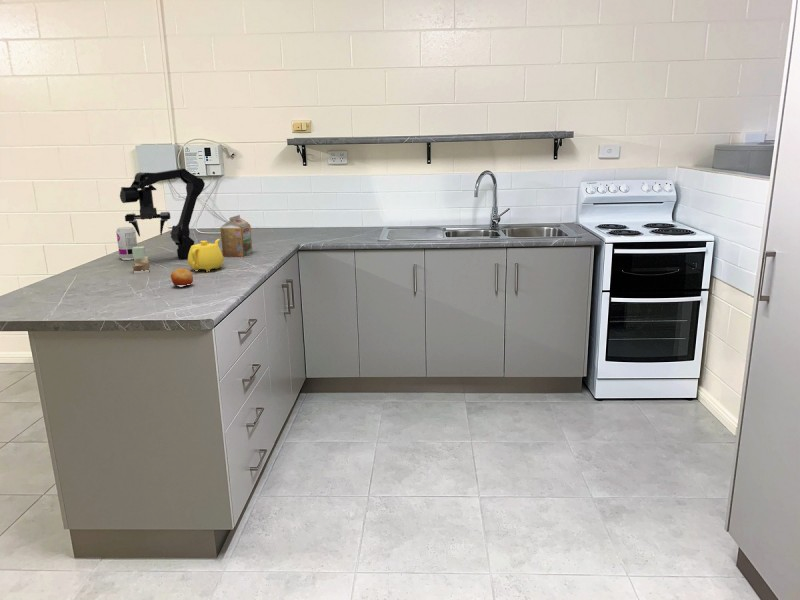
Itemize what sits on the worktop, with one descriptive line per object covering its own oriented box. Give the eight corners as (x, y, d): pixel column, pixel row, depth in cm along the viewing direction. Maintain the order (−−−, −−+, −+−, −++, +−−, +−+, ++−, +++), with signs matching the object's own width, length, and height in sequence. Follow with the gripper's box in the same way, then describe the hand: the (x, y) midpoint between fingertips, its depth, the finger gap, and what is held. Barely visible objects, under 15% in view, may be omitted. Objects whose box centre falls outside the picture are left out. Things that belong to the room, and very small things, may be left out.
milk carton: (243, 257, 293) (239, 217, 288) (222, 257, 295) (219, 217, 290) (252, 253, 303) (249, 214, 298) (232, 252, 305) (229, 214, 300)
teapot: (180, 273, 261) (177, 243, 258) (209, 263, 279) (206, 236, 276) (207, 274, 257) (204, 244, 253) (235, 265, 275) (232, 237, 272)
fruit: (183, 278, 244) (187, 263, 239) (193, 291, 241) (198, 275, 236) (164, 282, 238) (168, 266, 233) (175, 295, 235) (179, 279, 230)
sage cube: (145, 256, 266) (144, 246, 265) (144, 258, 261) (143, 247, 260) (134, 257, 265) (133, 246, 263) (133, 259, 260) (131, 248, 259)
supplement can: (118, 261, 288) (114, 229, 284) (121, 258, 296) (117, 227, 292) (137, 260, 290) (133, 228, 286) (139, 257, 298) (135, 226, 294)
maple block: (148, 262, 267) (147, 256, 266) (147, 265, 262) (146, 258, 262) (136, 263, 266) (135, 256, 265) (135, 265, 261) (134, 259, 260)
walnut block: (150, 270, 268) (149, 262, 268) (148, 273, 263) (147, 265, 262) (135, 271, 267) (134, 263, 266) (133, 274, 261) (132, 266, 260)
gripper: (121, 203, 264) (126, 239, 268) (167, 201, 269) (171, 237, 273) (124, 201, 274) (128, 235, 278) (168, 199, 279) (172, 233, 284)
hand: (150, 235), depth 278 cm, fingers open, 9 cm apart
